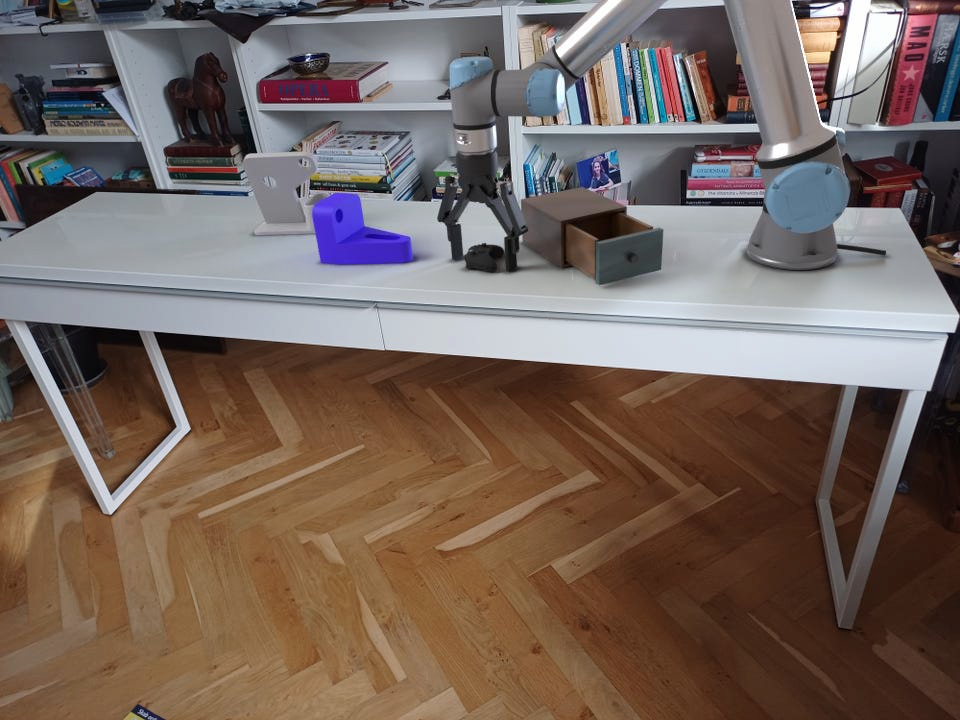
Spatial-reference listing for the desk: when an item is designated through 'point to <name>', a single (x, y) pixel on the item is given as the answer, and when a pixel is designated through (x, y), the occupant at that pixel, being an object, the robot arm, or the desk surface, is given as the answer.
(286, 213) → the phone holder
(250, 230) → the desk surface
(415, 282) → the desk surface
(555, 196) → the cabinet
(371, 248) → the bracket
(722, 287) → the desk surface
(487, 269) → the gaming controller
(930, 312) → the desk surface
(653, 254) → the drawer
